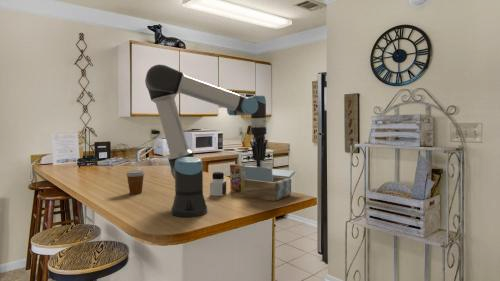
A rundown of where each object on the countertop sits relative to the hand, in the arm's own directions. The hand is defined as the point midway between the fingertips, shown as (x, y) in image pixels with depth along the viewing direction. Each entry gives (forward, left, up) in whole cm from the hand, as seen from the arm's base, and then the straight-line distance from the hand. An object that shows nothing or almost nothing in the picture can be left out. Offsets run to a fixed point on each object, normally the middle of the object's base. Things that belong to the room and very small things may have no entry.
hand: (259, 173), depth 166 cm
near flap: (-1, 0, -4) cm, 4 cm away
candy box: (+6, +19, -13) cm, 24 cm away
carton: (+7, 0, -13) cm, 15 cm away
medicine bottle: (-5, +24, -13) cm, 28 cm away
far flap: (+15, 0, -4) cm, 16 cm away
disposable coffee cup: (-28, +64, -13) cm, 71 cm away
